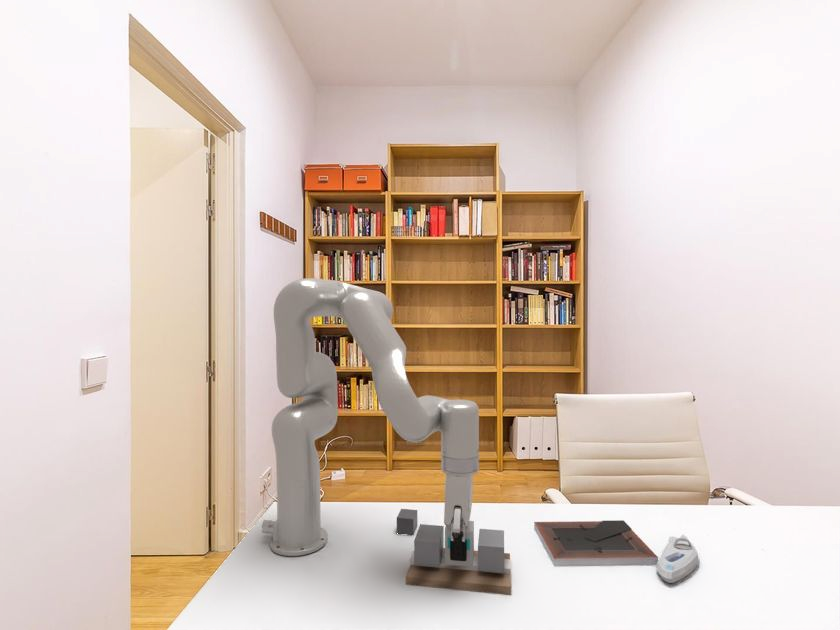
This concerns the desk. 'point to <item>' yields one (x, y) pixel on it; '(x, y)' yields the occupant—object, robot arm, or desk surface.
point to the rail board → (461, 576)
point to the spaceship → (677, 559)
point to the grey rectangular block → (407, 521)
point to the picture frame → (593, 544)
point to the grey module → (470, 545)
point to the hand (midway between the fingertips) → (460, 549)
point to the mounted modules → (432, 547)
